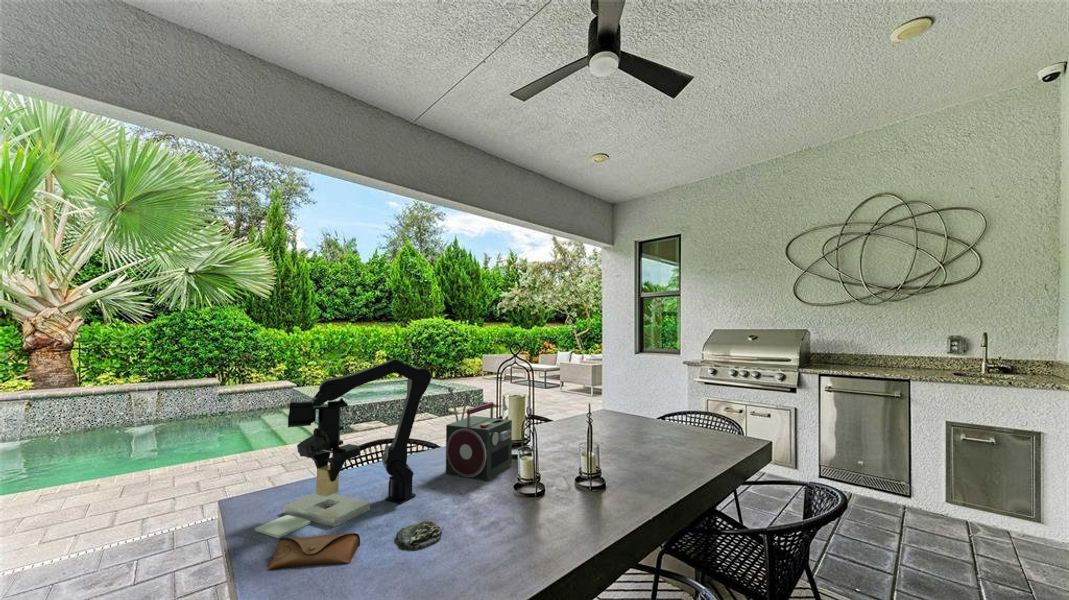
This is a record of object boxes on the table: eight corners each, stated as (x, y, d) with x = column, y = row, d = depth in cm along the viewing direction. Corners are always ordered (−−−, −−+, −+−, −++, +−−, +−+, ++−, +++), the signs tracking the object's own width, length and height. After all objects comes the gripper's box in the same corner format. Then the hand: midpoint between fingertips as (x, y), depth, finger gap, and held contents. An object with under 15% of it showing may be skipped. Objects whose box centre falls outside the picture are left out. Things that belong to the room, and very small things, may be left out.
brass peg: (338, 491, 123) (339, 466, 123) (326, 496, 119) (326, 470, 120) (328, 489, 124) (329, 464, 125) (316, 494, 121) (316, 468, 121)
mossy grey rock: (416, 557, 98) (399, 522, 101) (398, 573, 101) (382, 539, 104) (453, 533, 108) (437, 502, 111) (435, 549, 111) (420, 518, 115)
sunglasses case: (262, 571, 91) (269, 535, 95) (273, 573, 97) (280, 539, 101) (352, 563, 95) (356, 529, 98) (358, 565, 100) (361, 533, 104)
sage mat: (310, 523, 114) (310, 520, 114) (277, 538, 106) (277, 535, 106) (288, 516, 118) (288, 514, 118) (254, 530, 110) (254, 528, 110)
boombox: (490, 482, 144) (490, 391, 146) (439, 473, 153) (440, 387, 155) (515, 466, 160) (515, 384, 162) (468, 459, 169) (469, 381, 171)
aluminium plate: (369, 509, 123) (370, 502, 123) (333, 527, 112) (334, 519, 112) (321, 497, 131) (321, 490, 131) (283, 512, 120) (283, 505, 121)
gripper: (280, 426, 120) (278, 484, 119) (327, 433, 112) (325, 495, 111) (316, 418, 130) (314, 471, 129) (361, 424, 122) (360, 481, 121)
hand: (327, 480), depth 122 cm, fingers closed on brass peg, 4 cm apart
